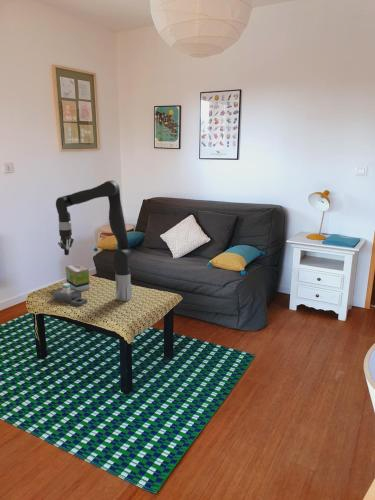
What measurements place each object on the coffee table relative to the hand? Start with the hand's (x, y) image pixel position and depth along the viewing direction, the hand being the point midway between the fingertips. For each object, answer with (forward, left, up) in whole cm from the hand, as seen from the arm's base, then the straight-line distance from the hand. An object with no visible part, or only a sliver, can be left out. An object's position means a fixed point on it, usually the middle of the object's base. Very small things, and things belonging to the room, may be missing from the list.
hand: (66, 254), depth 247 cm
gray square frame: (-15, +10, -27) cm, 32 cm away
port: (-4, +7, -27) cm, 28 cm away
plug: (-4, +7, -26) cm, 27 cm away
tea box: (+2, -12, -27) cm, 30 cm away
